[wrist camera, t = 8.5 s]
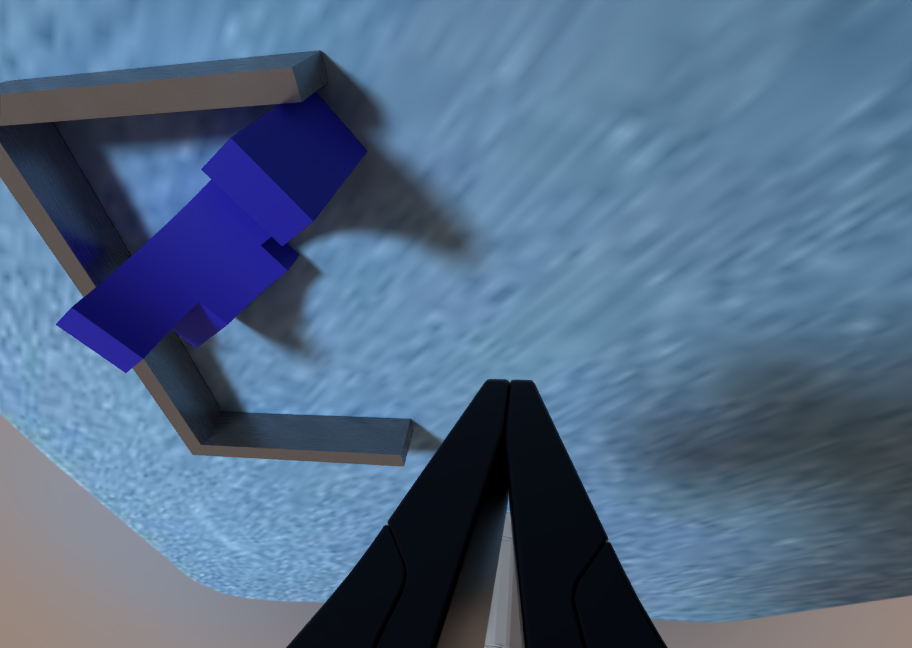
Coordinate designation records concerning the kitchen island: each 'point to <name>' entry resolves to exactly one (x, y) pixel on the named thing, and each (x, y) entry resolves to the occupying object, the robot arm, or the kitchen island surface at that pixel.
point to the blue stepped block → (222, 236)
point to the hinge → (504, 598)
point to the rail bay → (102, 252)
